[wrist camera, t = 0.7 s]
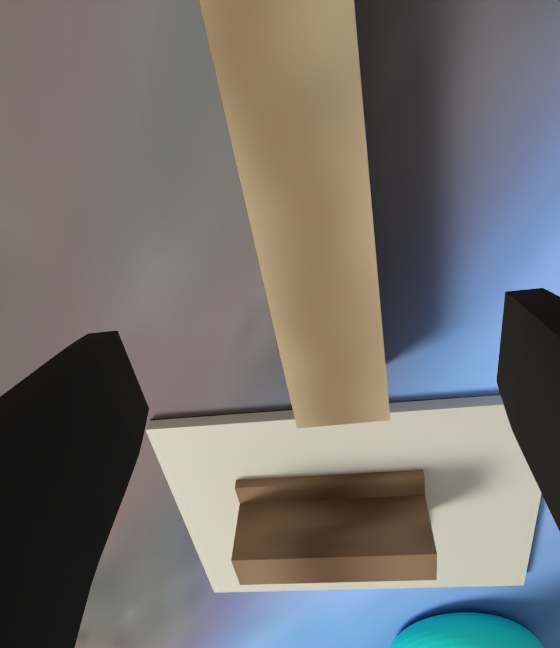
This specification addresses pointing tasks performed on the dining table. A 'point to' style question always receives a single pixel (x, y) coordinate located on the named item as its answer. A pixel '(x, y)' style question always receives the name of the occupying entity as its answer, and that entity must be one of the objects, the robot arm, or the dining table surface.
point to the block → (334, 529)
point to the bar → (307, 195)
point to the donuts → (466, 632)
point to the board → (365, 457)
